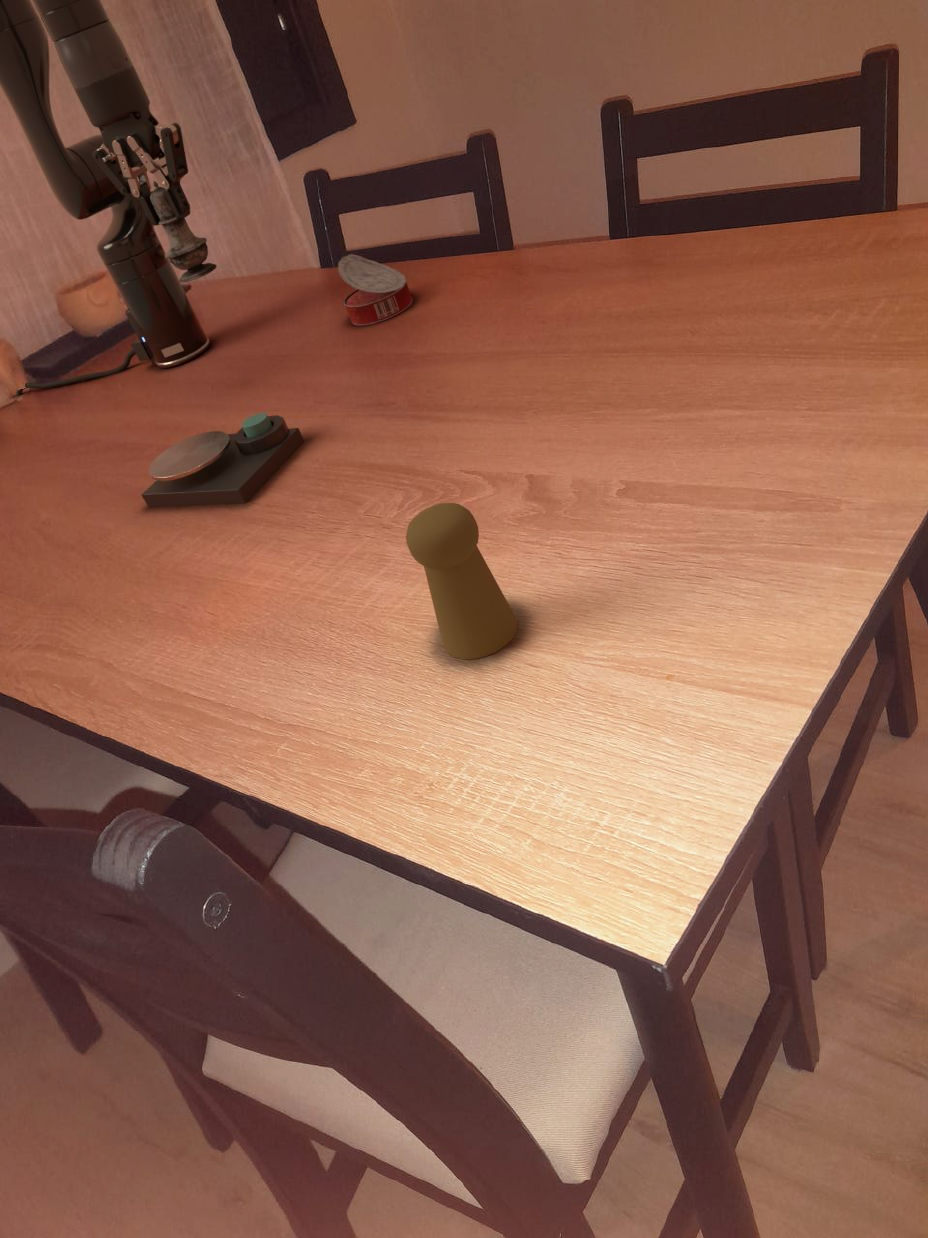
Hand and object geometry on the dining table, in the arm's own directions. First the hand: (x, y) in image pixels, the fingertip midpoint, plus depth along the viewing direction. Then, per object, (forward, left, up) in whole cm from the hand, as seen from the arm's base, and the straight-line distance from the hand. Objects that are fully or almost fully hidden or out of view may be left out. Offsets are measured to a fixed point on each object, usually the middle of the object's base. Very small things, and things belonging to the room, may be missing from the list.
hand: (172, 219), depth 122 cm
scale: (+14, -25, -23) cm, 37 cm away
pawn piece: (+59, -51, -23) cm, 82 cm away
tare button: (+18, -21, -20) cm, 34 cm away
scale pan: (+12, -27, -20) cm, 35 cm away
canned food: (+12, +20, -23) cm, 33 cm away
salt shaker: (0, 0, -7) cm, 7 cm away
